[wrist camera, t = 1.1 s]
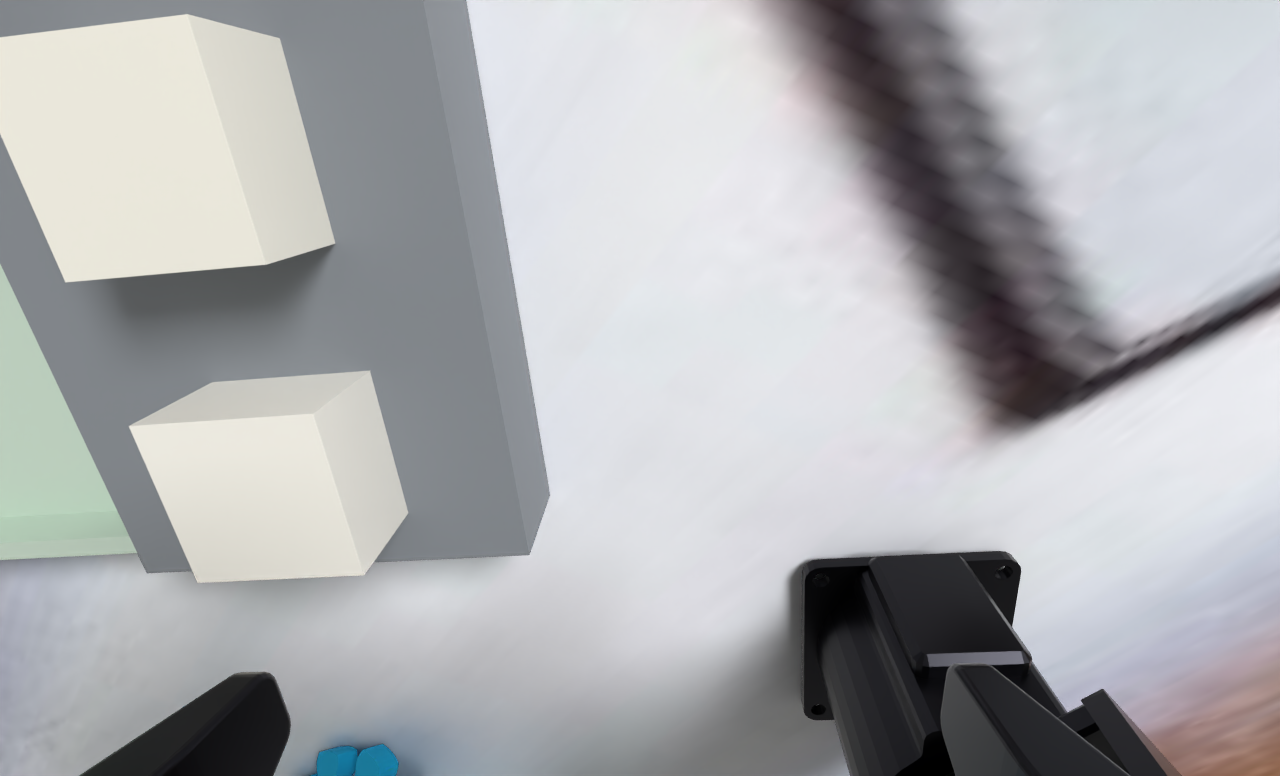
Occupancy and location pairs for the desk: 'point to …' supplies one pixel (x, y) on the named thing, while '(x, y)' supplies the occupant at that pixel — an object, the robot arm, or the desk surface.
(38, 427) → the box
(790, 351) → the desk surface
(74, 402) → the gray rectangular block
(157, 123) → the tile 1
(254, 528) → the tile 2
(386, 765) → the blue green toy structure
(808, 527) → the desk surface
